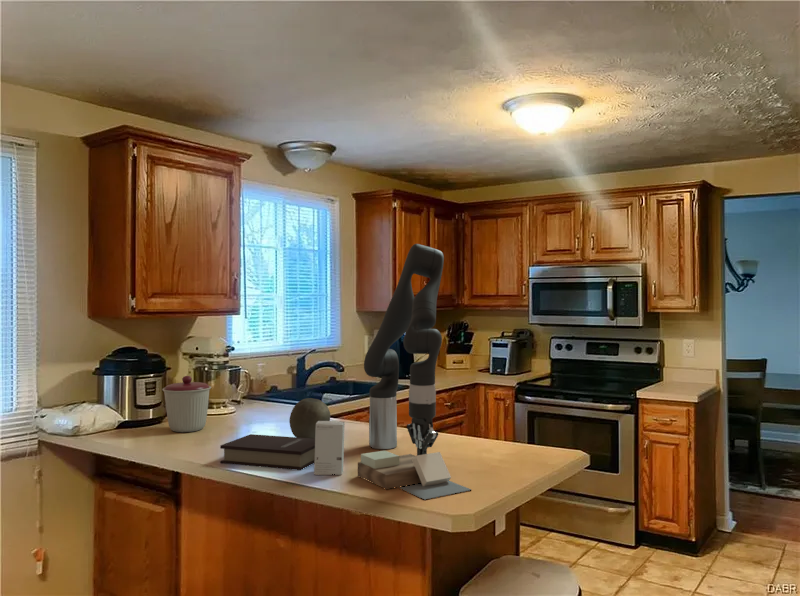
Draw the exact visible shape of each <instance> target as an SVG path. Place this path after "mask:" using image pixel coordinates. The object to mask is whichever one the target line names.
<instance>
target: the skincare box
mask: <svg viewBox="0 0 800 596" xmlns="http://www.w3.org/2000/svg"><path fill="white" fill-rule="evenodd" d="M344 448H345V421H340V420H339V421H337V420H335V421H334V420H330V421H318V422H317V423H316V429H315V461H314V464H313V466H314V467H313V468H314V469H313V473H314V476H341V475H343V472H344V453H345V449H344ZM332 474H333V475H332ZM334 474H335V475H334Z"/></svg>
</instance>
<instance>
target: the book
mask: <svg viewBox="0 0 800 596" xmlns="http://www.w3.org/2000/svg"><path fill="white" fill-rule="evenodd" d="M220 449H222V450H223V460H221V461H220V464H226V465H236V466H237V465H238V466H247V465H249V466H250V467H259V466H261V467H260V468H271V469H272V468H273V469H281V468H282V470H292V469H297V470H296V471H302V470H304V469H306V468H308V467H310V466H312V465H314V464H313V463H314V461H315V439H312V438H297V437H295V436H294V437H293V436H282V435H267V434H266V435H265V434H254V433H250V434H248V435H245V436H242V437H239V438H236V439H233V440H230V441H228V442H226V443H223V444H221V445H220ZM311 464H312V465H311ZM309 465H310V466H309ZM307 466H308V467H307ZM305 467H306V468H305ZM303 468H304V469H303ZM301 469H302V470H301Z"/></svg>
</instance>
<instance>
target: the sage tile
mask: <svg viewBox="0 0 800 596" xmlns="http://www.w3.org/2000/svg"><path fill="white" fill-rule="evenodd" d="M399 456H400V455H398V454H395V453H392V452H390V451H388V450H386V449H383V450H380V451H379V450H378V451H372V452H366V453H360V462H361V463H362V464H365V465H367V466H369V467H372V468H374V469H377V468H383V467H389V466H395V465H399Z"/></svg>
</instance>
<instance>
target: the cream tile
mask: <svg viewBox="0 0 800 596" xmlns="http://www.w3.org/2000/svg"><path fill="white" fill-rule="evenodd" d="M412 461H413V464H414V466H415V468H416V471H417V473H418V476H419V478H420V480H421V483H422V485H423V486H428V485H434V484H439V483H445V482H448V481H451V478H452V476H451V474H450V471H449V469H448V466H447V465H446V463H445V460H444V458H443V456H442V453H441V451H436V452H432V453H431V452H430V453H427V454H423V455H417V454H416V455H415V457H414V459H413V460H412Z"/></svg>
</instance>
